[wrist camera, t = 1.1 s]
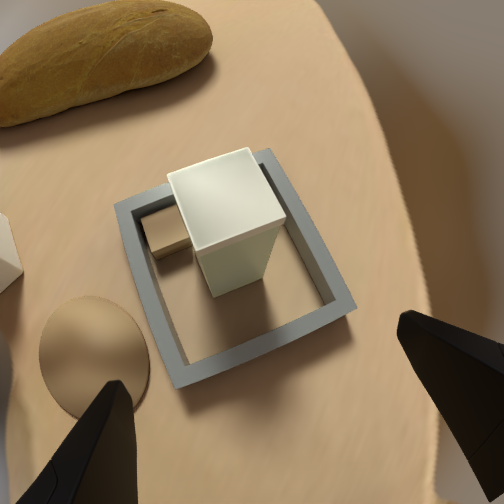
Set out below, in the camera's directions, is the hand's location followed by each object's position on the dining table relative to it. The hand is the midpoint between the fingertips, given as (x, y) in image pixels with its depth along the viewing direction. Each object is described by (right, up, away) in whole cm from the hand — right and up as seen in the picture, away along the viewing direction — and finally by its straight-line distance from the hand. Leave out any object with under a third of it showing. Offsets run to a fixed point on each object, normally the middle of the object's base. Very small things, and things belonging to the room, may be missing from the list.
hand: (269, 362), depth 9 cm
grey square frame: (-2, +2, +15) cm, 15 cm away
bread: (-23, +27, +23) cm, 43 cm away
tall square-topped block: (-2, +2, +15) cm, 15 cm away
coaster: (-13, -5, +12) cm, 18 cm away
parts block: (-7, +4, +16) cm, 18 cm away
